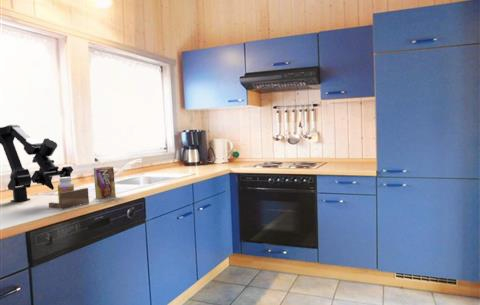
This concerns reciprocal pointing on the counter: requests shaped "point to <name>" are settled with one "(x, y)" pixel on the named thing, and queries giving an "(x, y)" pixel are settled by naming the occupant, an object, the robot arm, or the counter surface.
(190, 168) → the counter surface
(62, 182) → the supplement bottle
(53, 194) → the counter surface
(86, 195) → the brown rectangular box
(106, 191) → the candy box
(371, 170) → the counter surface
